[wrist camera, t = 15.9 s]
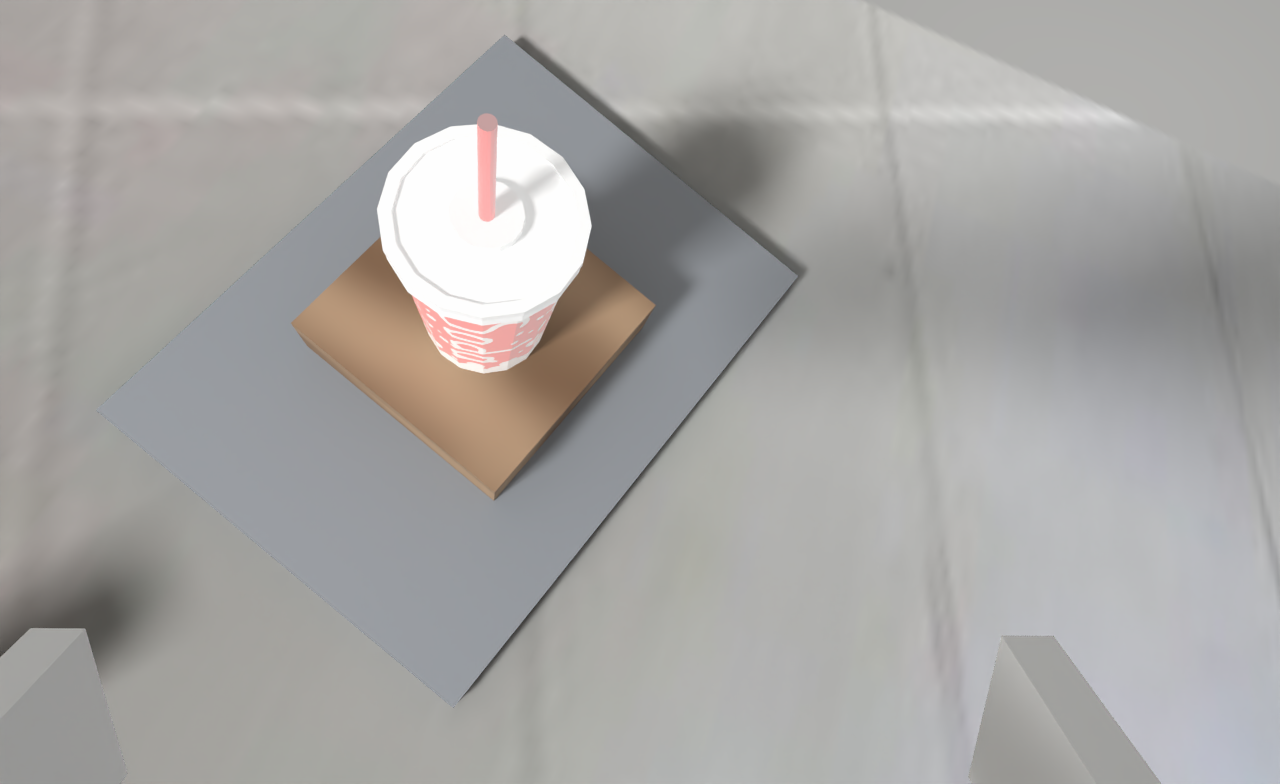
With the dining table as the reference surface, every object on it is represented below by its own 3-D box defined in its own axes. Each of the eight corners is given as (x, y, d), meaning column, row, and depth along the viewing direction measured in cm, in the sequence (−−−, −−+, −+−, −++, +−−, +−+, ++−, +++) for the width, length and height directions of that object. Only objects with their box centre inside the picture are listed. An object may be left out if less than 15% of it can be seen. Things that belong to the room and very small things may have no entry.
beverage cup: (377, 352, 31) (297, 171, 18) (448, 220, 33) (424, -34, 20) (525, 417, 32) (554, 289, 18) (587, 284, 33) (656, 78, 20)
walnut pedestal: (470, 195, 38) (469, 151, 34) (638, 334, 38) (655, 305, 34) (312, 352, 35) (290, 323, 31) (493, 503, 35) (494, 492, 31)
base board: (504, 47, 40) (504, 34, 39) (790, 283, 40) (798, 276, 39) (107, 415, 33) (95, 410, 32) (454, 704, 33) (453, 707, 32)
